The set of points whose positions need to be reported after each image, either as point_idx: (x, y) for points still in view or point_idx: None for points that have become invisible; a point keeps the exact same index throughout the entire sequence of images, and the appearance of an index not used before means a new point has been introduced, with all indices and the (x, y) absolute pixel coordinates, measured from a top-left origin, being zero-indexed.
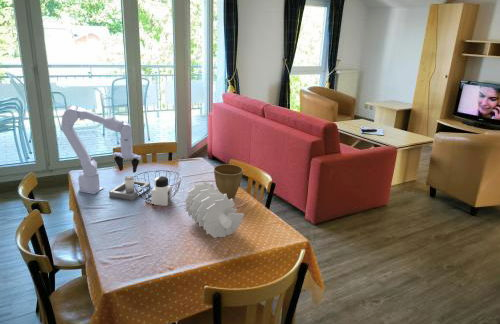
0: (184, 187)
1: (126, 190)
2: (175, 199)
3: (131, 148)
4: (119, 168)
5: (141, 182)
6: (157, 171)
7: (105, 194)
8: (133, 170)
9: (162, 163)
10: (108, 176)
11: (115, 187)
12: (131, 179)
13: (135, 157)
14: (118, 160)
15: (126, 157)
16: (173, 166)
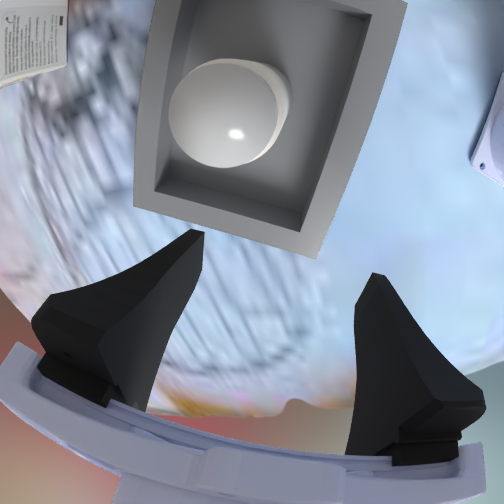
0: (32, 220)
1: (273, 67)
2: (8, 90)
3: None
4: (392, 291)
5: (190, 207)
6: (211, 367)
7: (436, 57)
8: (183, 241)
9: (224, 410)
10: (441, 323)
11: (381, 83)
12: (184, 85)
13: (34, 401)
14: (422, 392)
15: (193, 460)
16: (174, 390)
